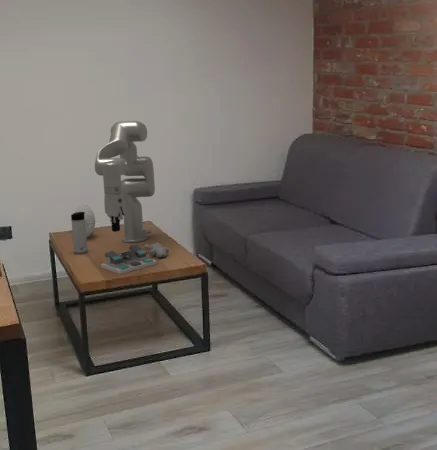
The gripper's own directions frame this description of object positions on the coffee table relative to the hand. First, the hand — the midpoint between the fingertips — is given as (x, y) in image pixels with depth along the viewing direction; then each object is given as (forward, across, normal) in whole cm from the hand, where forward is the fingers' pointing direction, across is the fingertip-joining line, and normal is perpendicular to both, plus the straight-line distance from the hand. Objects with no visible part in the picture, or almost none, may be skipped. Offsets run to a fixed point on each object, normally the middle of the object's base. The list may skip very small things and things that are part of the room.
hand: (116, 230), depth 304 cm
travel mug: (+18, +34, -1) cm, 39 cm away
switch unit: (+17, -1, -5) cm, 18 cm away
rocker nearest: (+12, +2, -12) cm, 17 cm away
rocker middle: (+12, +2, -5) cm, 13 cm away
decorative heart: (+18, +58, -18) cm, 64 cm away
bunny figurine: (+18, +4, -24) cm, 30 cm away
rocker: (+12, +2, +1) cm, 12 cm away
